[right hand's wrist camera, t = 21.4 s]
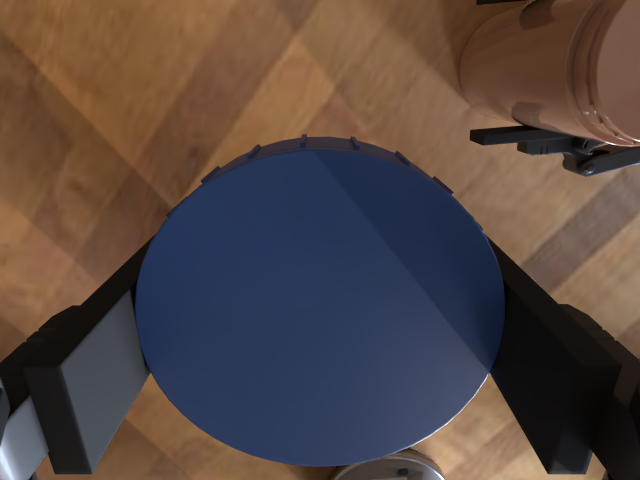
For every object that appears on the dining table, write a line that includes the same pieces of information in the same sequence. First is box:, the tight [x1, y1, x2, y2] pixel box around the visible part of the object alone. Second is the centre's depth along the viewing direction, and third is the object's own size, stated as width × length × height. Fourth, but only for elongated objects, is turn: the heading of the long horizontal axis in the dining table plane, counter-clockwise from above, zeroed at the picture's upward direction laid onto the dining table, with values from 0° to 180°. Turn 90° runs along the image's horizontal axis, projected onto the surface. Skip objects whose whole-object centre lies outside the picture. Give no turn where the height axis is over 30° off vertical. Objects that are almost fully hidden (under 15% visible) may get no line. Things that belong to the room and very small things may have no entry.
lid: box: [135, 134, 505, 466], centre depth 11 cm, size 9×9×2 cm
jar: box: [459, 0, 640, 146], centre depth 25 cm, size 8×8×18 cm
